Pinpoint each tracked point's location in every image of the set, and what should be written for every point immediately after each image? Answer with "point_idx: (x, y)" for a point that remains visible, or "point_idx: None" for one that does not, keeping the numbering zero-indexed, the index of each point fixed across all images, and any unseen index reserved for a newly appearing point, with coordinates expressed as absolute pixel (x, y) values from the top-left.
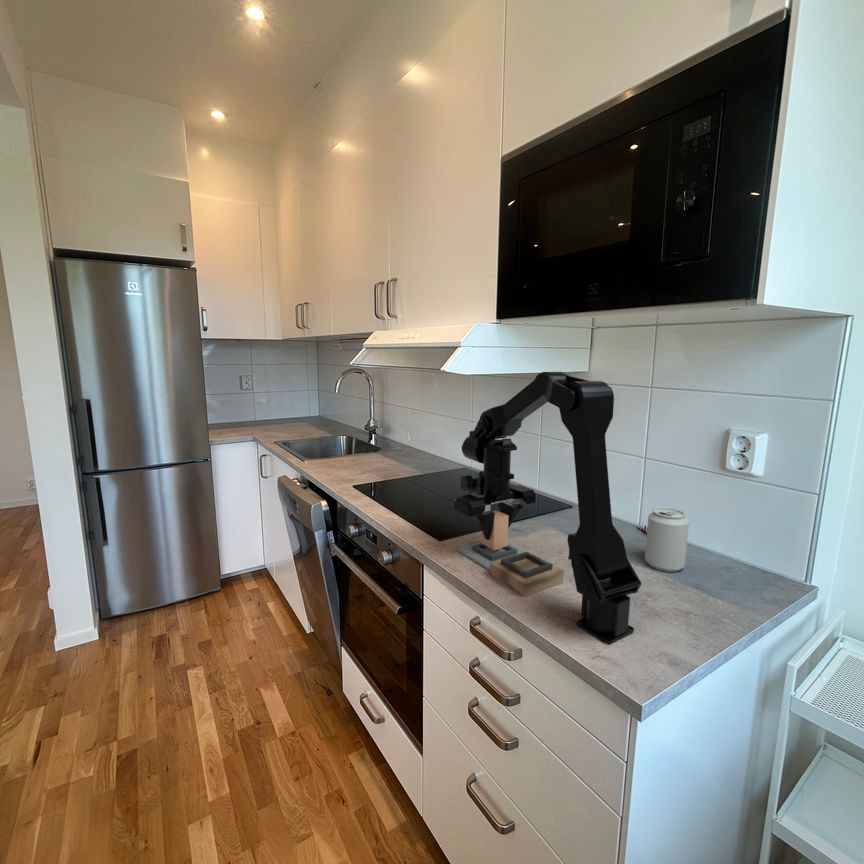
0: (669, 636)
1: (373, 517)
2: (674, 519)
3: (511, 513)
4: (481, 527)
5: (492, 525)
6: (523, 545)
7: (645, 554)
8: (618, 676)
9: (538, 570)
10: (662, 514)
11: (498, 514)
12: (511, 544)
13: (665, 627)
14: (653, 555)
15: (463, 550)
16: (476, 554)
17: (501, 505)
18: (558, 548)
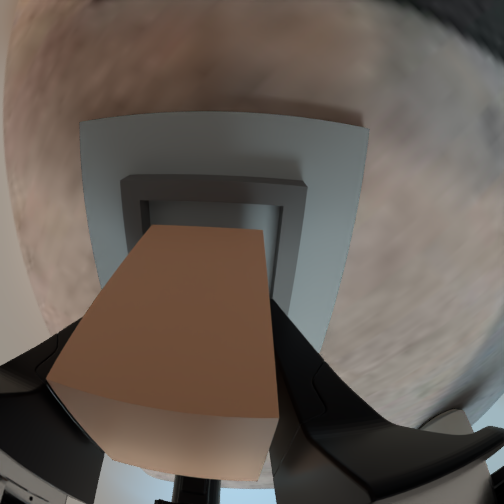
0: (250, 481)
1: None
2: None
3: (276, 497)
4: (75, 323)
5: None
6: (395, 253)
7: (440, 427)
8: (154, 472)
9: None
10: (486, 464)
11: (196, 460)
12: (349, 241)
13: (263, 478)
14: None
15: (91, 161)
16: (119, 231)
17: (315, 501)
18: (435, 328)
